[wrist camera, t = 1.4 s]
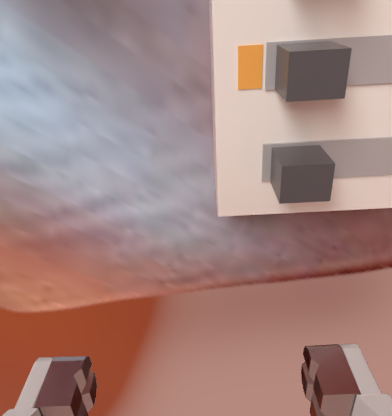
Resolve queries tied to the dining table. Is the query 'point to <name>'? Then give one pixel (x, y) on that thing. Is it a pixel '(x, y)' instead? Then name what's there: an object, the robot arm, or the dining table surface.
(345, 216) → the dining table surface
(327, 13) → the switch panel
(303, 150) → the switch tab
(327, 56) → the switch tab
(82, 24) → the dining table surface
